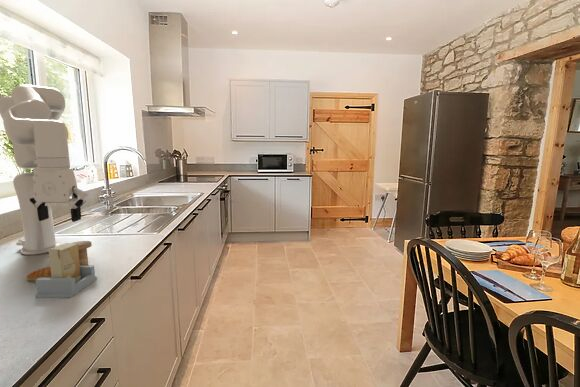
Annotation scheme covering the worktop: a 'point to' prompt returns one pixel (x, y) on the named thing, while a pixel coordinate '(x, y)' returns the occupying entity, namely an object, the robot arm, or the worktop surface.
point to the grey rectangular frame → (64, 284)
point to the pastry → (40, 274)
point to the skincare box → (65, 261)
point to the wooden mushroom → (83, 251)
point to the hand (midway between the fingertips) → (60, 220)
